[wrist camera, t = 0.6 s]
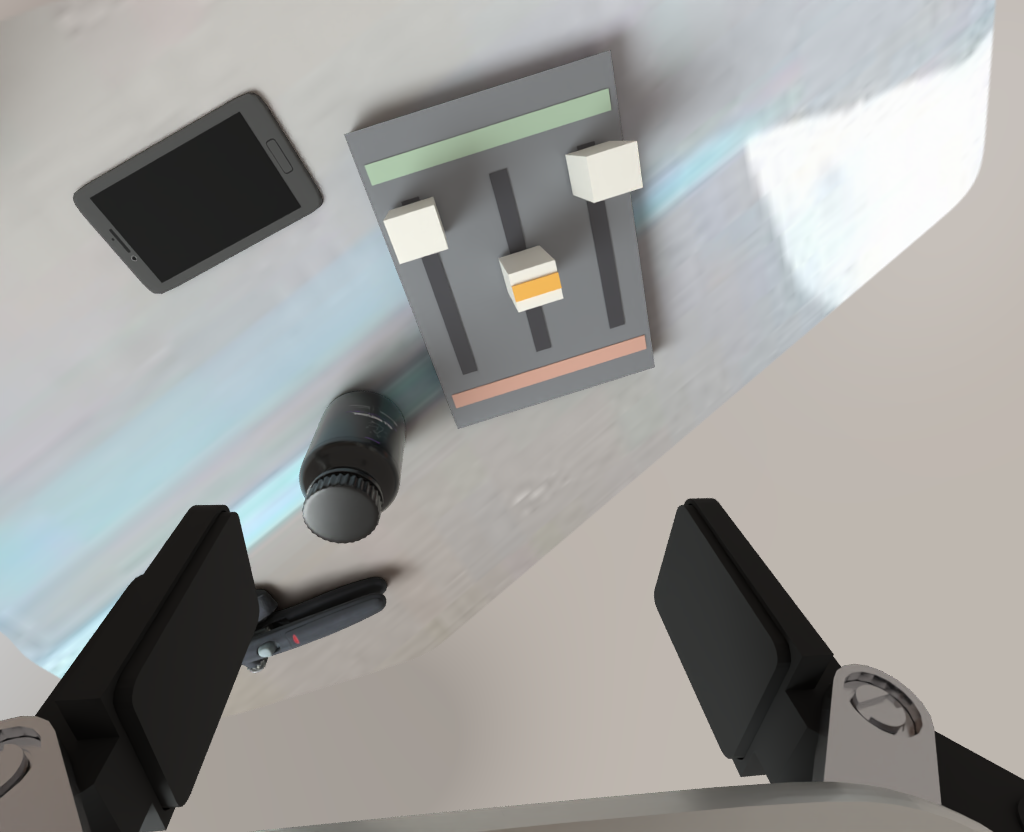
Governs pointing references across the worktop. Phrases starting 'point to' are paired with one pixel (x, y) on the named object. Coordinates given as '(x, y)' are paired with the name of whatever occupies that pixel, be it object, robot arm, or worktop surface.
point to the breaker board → (514, 238)
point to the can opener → (311, 619)
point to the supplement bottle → (352, 466)
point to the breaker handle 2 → (605, 170)
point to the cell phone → (201, 195)
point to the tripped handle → (531, 278)
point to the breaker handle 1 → (416, 230)
